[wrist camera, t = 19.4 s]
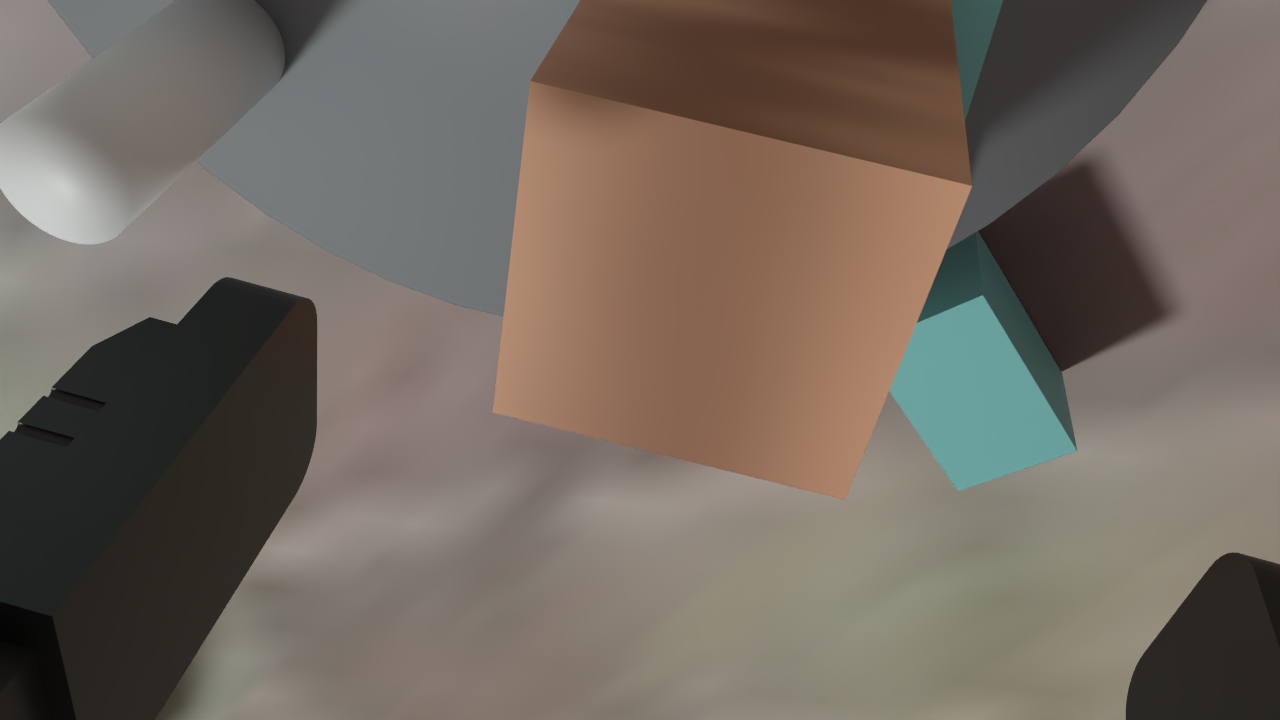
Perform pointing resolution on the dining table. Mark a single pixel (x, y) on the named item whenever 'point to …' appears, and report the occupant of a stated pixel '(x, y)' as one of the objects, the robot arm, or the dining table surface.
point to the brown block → (732, 226)
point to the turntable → (464, 116)
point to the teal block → (981, 375)
